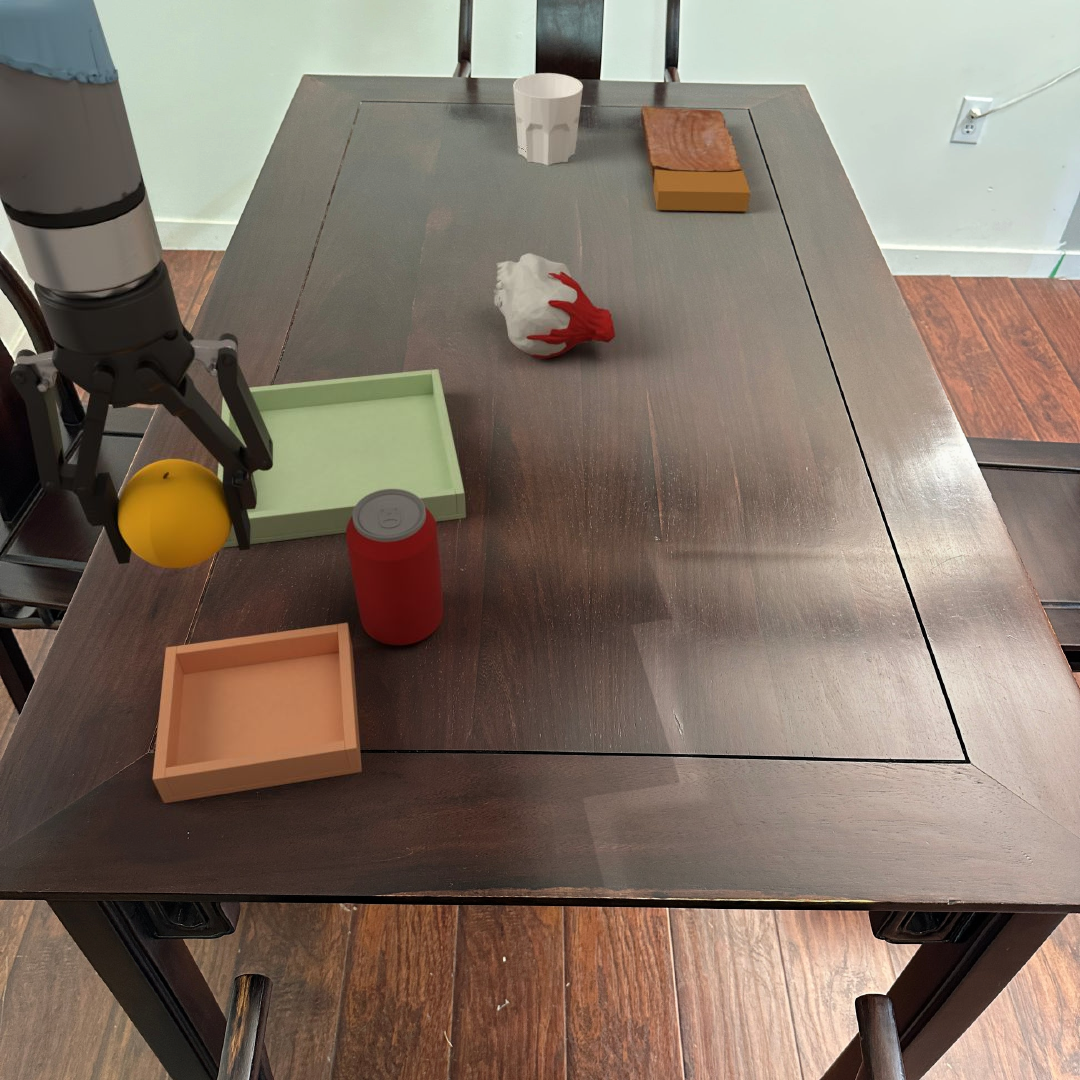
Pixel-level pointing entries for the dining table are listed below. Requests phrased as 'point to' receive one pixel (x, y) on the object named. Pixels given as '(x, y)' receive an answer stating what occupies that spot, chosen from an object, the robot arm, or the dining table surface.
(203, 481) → the orange
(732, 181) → the wooden board
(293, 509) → the fruit tray
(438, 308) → the dining table surface
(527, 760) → the dining table surface
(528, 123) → the cup
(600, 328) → the candle
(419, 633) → the beverage can
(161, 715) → the drink tray
